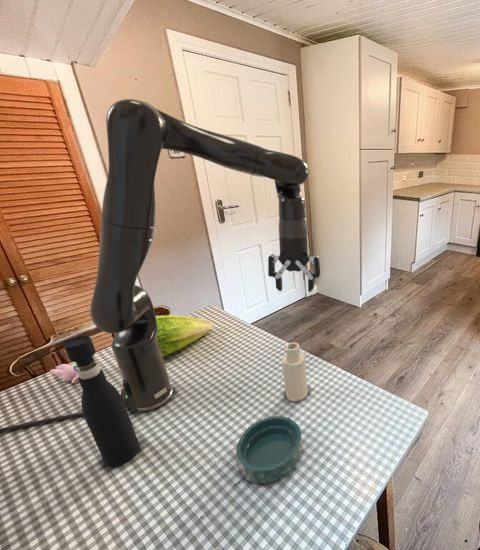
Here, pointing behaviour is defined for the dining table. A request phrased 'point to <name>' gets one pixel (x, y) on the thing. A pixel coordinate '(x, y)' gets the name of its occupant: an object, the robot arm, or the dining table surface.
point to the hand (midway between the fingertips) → (295, 290)
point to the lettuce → (179, 331)
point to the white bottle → (294, 373)
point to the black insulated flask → (102, 406)
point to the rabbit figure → (66, 372)
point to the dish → (269, 449)
